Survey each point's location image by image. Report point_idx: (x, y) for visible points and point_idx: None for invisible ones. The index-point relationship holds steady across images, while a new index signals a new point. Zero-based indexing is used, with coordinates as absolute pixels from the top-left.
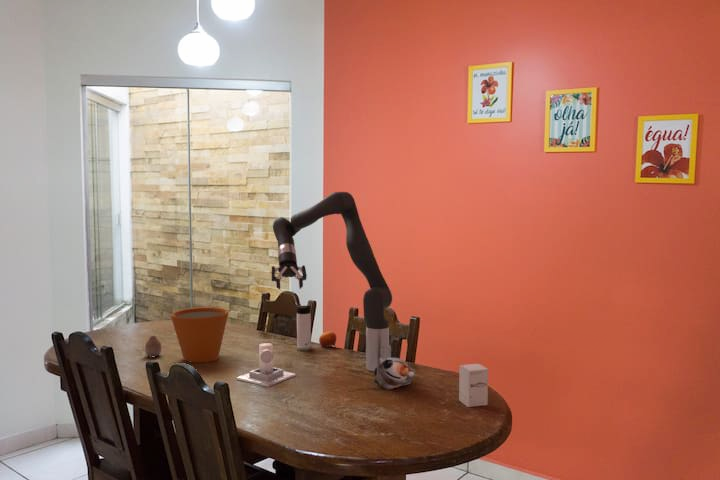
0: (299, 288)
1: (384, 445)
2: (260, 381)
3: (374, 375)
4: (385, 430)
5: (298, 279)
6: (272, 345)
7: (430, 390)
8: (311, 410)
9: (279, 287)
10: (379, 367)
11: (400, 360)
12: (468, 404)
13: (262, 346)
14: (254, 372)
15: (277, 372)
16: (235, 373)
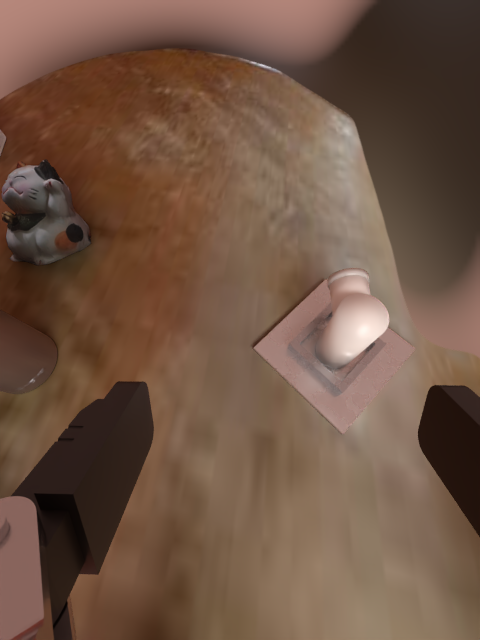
0: (151, 441)
1: (177, 69)
2: None
3: (82, 239)
4: (160, 96)
5: (70, 628)
6: (337, 309)
7: None
8: (246, 161)
9: (439, 395)
10: (67, 202)
11: (14, 171)
12: (2, 133)
13: (373, 297)
14: None
15: (305, 327)
16: None
